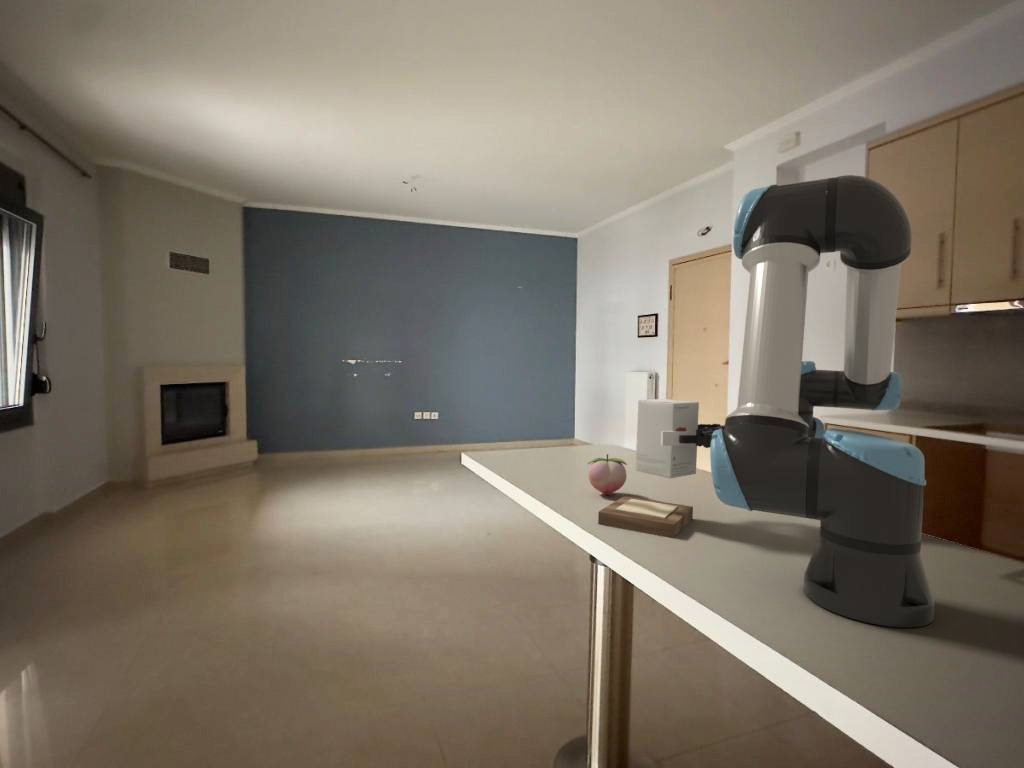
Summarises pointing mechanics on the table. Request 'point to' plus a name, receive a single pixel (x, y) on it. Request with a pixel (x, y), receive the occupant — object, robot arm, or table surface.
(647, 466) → the supplement box
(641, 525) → the block
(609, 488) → the decorative fruit
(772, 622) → the table surface
